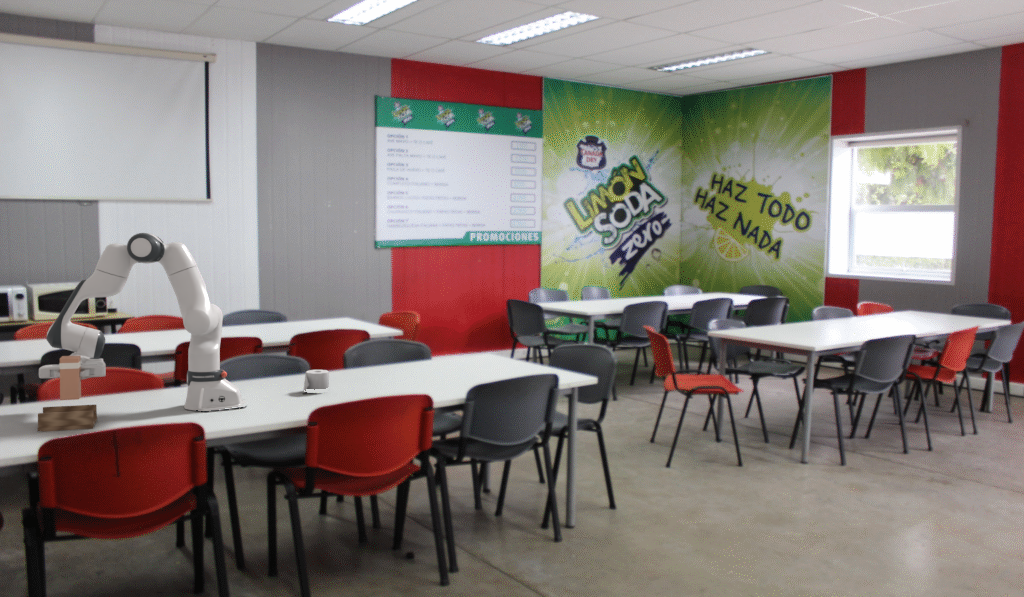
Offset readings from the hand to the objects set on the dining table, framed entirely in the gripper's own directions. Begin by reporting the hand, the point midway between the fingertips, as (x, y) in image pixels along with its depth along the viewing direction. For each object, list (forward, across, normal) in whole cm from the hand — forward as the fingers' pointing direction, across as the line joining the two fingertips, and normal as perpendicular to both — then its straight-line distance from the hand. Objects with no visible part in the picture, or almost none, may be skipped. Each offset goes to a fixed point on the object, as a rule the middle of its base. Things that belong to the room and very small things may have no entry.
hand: (70, 375), depth 264 cm
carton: (-1, 0, +8) cm, 8 cm away
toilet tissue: (-35, +86, +17) cm, 94 cm away
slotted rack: (0, -1, +17) cm, 17 cm away
